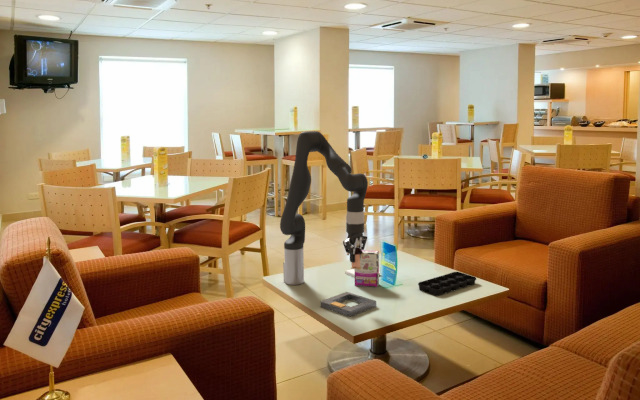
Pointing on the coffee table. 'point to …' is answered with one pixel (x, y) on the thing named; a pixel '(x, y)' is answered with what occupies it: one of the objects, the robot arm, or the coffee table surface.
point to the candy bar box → (368, 270)
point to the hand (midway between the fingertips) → (355, 261)
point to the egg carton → (446, 283)
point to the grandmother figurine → (357, 257)
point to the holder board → (337, 307)
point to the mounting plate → (352, 272)
